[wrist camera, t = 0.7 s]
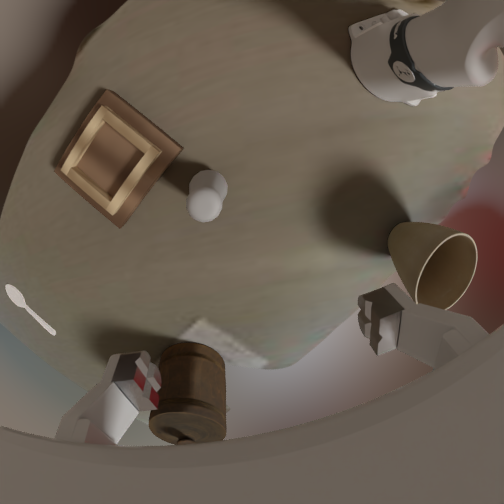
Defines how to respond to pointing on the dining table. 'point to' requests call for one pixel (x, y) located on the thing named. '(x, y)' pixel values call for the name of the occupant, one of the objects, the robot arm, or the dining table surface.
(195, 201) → the salt shaker
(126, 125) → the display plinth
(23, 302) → the spoon
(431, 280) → the plant pot
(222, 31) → the dining table surface
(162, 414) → the wooden container
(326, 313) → the dining table surface
